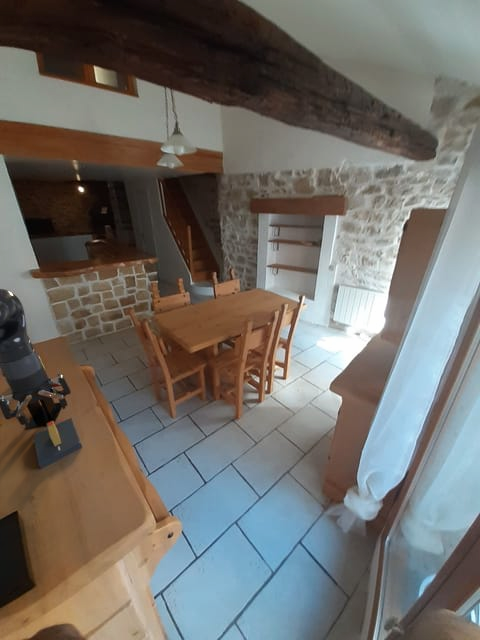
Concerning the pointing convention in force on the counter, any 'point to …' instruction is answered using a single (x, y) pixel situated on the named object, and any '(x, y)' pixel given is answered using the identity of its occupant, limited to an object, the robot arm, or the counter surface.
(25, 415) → the robot arm
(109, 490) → the counter surface
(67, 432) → the lock plate
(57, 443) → the yellow flat block
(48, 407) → the latch bracket
